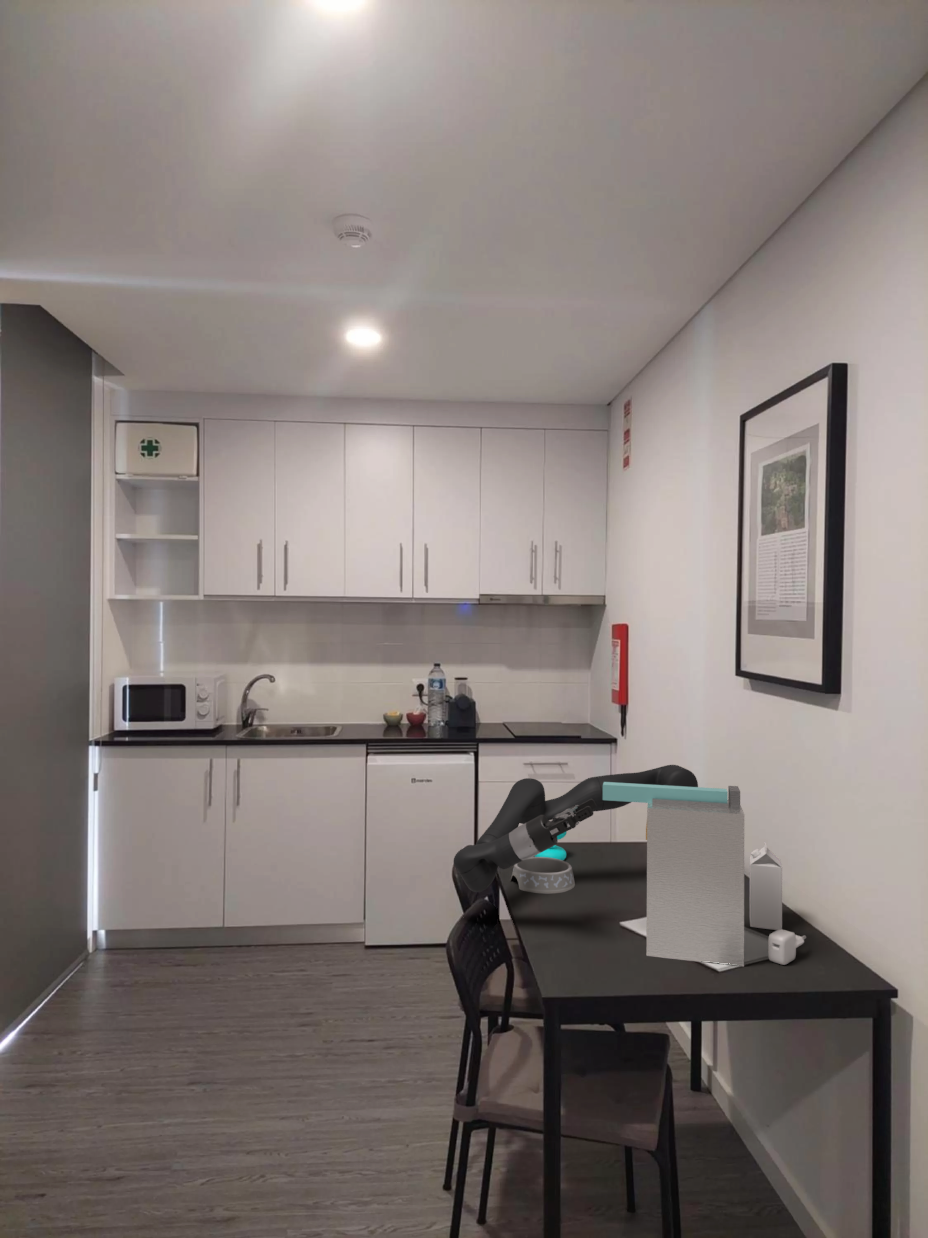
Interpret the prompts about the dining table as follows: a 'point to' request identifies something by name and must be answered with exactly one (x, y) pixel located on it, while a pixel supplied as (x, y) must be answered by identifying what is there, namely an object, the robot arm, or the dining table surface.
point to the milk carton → (765, 890)
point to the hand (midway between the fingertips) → (593, 806)
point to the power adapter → (783, 946)
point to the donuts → (554, 851)
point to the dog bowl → (544, 875)
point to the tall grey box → (696, 879)
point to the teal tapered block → (661, 793)
